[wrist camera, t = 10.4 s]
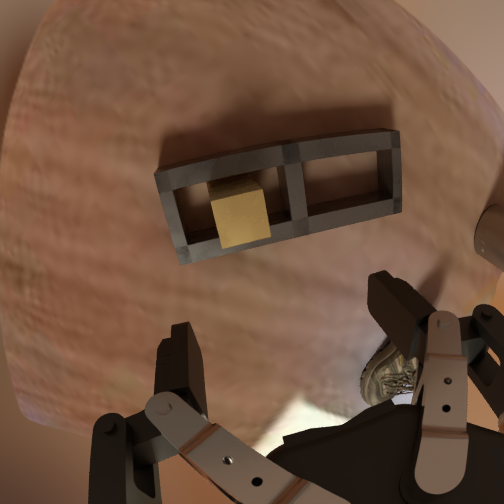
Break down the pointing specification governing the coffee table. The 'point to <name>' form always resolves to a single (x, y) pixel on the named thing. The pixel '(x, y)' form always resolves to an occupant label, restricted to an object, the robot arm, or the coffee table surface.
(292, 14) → the coffee table surface
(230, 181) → the block
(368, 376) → the hiking shoe
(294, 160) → the dark grey rectangular tray
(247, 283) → the coffee table surface
